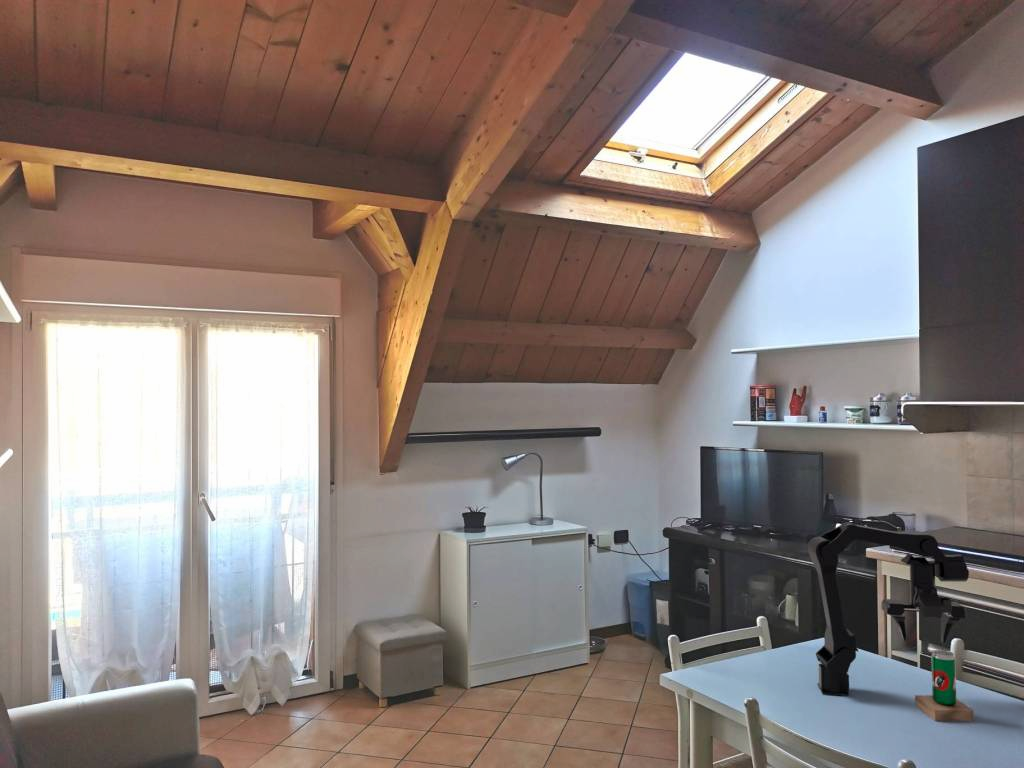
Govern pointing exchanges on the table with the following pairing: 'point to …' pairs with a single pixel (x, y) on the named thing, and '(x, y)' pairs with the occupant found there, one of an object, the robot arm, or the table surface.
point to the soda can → (943, 677)
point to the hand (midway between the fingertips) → (923, 641)
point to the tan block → (943, 709)
